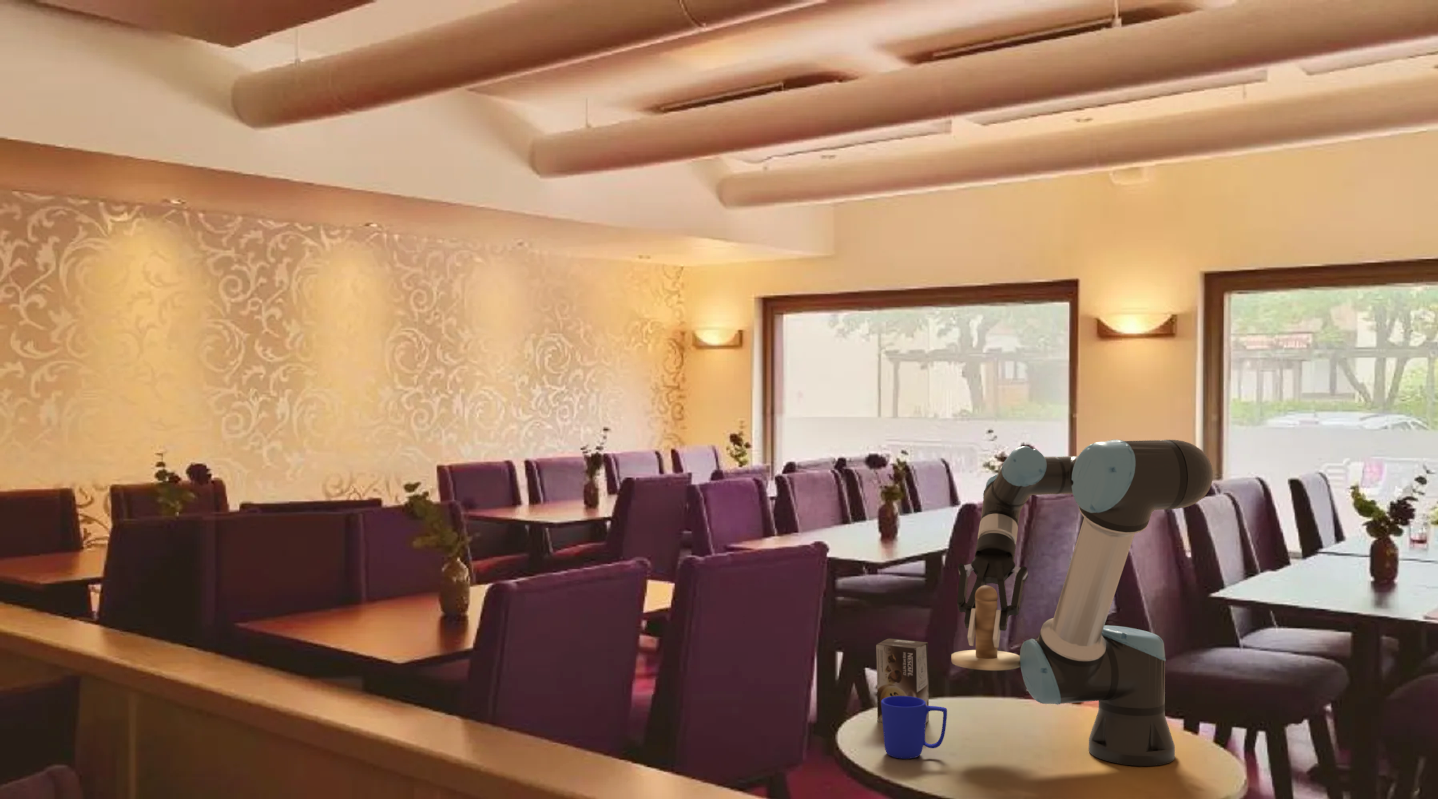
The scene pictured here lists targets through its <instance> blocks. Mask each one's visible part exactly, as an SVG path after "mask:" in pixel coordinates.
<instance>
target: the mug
mask: <svg viewBox="0 0 1438 799" xmlns="http://www.w3.org/2000/svg"><path fill="white" fill-rule="evenodd" d="M881 708H882V720H883V722H882V730H883V744H884V750H885V753H886V754H887V755H888V756H890V757H892V758H896V759H905V760H910V759H914V758H917V757H920V755H921V754H922V752H923V748H924V747H925V748H928V749H937V748H938V747H940V746H941V745H942V743H943V741H944V739H945V734H946V727H947V718H948V709H947V708H946V707H944V706H936V705H929V706H927V705H926V702H925V701H924V700H922V699H920V698H916V697H910V696H891V697H887V698H884V699H882V701H881ZM932 711H934V712H935V711H937V712H941V713H942V714H943V715H942V725H941V726H942V727H941V732H940V736H939V739H938V741H936V742H935V743H927V742H926V724H927V722H926V716H927V713H928V712H929V713H930V712H932Z"/></svg>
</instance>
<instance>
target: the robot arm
mask: <svg viewBox="0 0 1438 799" xmlns="http://www.w3.org/2000/svg"><path fill="white" fill-rule="evenodd" d="M1213 476H1214V470H1213V466H1212V463H1211V461H1210V458H1209V457H1208V455H1207V454H1206V453H1205V452H1204V451H1203V450H1202V449H1201V448H1200V447H1197V446H1196V445H1194V444H1193V443H1190V442H1187V441H1185V440H1179V439H1150V440H1148V439H1147V440H1146V439H1145V440H1123V439H1111V440H1109V439H1108V440H1106V441H1096V442H1093V443H1091V444H1089V445H1088V446H1086V447H1085V448H1084V449H1082V451H1081V452H1080V453H1079V454H1078V455H1068V456H1066V455H1065V456H1044V454H1043V453H1041V451H1039V450H1038V449H1036V448H1031V447H1030V446H1019V447H1016V448H1015V449H1013V450H1012V451H1011V452H1010V454H1009V455H1008V456H1007V458H1006V459H1005V460H1004V462H1003V464H1002V465H1001V467H1000V469H999V472H998V473H996V474H995V475H993V476H990V477H989V478H988V480H987V481H986V483H985V488H984V490H983V493H982V494H983V495H982V496H983V497H982V498H983V499H982V507H981V515H980V522H979V527H978V533H977V541H976V547H975V552H974V558H973V559H972V561H971V563H969V564H964V563H958V565H957V569H958V574H959V580H958V588H957V589H958V590H957V600H956V604H957V609H958V611H959V612H960V613H964V615H965V616H964V619H963V620H964V621H963V622H964V627H965V628H966V629H968V631H967V641H968V645H969V646H971V647H974V646H975V645H974V644H975V639H976V600H975V593H976V591H977V589H978V588H979V587H981V586H984V585H987V584H989V585H990V584H995V585H997V588H998V595H999V597H998V598H999V604H1000V609H997V610H996V618H995V625H994V633H993V643H994V647H997V649H999V647H1000V639H1001V632H1003V631H1004V632H1005V631H1007V628H1008V622H1009V617H1010V616H1018V615H1019V614H1020V606H1021V602H1022V596H1023V591H1024V584H1025V582H1026V581H1027V579H1028V578H1029V573H1028V568H1027V567H1026V566H1023V565H1022V566H1021V567H1020V566H1017V565H1016V562H1015V555H1016V548H1017V547H1016V546H1017V541H1018V540H1017V539H1018V533H1019V530H1018V529H1019V523H1020V522H1019V521H1020V517H1021V516H1020V515H1021V512H1022V509H1023V507H1024V506H1025V504H1026V503H1027V501H1028V500H1029V499H1030V498H1031V496H1039V495H1040V496H1042V495H1043V496H1046V495H1047V496H1048V495H1070V494H1071V495H1073V498H1074V501H1075V503H1076V504H1077V506H1078V510H1079V512H1080V514H1081V515H1082V517H1083V520H1082V524H1081V526H1080V531H1079V533H1078V537H1077V540H1076V544H1075V547H1074V550H1073V552H1072V557H1071V559H1070V563H1069V566H1068V570H1067V573H1066V576H1065V579H1064V582H1063V587H1062V589H1061V592H1060V596H1059V599H1058V603H1057V605H1056V610H1055V612H1054V615H1053V618H1049V619H1047V620H1046V621H1044V622H1043V624H1042V625H1041V629H1040V631H1039V635H1038V638H1035V639H1034V638H1030V639H1027V640H1024V641H1023V642H1022V644H1021V646H1020V652H1019V656H1020V666H1021V667H1020V670H1021V675H1022V679H1023V683H1024V685H1025V687H1026V689H1027V691H1028V693H1029V695H1030V696H1031V697H1032V699H1033V700H1035V702H1038V703H1040V704H1043V705H1057V706H1058V705H1062V704H1063V705H1064V704H1072V703H1073V704H1075V703H1088V702H1098V709H1097V710H1098V711H1097V713H1096V716H1095V720H1094V723H1093V726H1092V727H1091V732H1090V734H1089V737H1088V751H1089V753H1090V754H1091V755H1092V756H1093V757H1096V758H1097V759H1099V760H1103V761H1105V762H1109V763H1112V764H1118V765H1125V766H1126V765H1127V766H1135V767H1136V766H1137V767H1150V766H1151V767H1152V766H1153V767H1154V766H1162V765H1166V764H1169V763H1171V762H1173V761H1174V760H1175V759H1176V752H1175V751H1176V747H1175V742H1174V740H1173V736H1172V733H1171V731H1170V727H1169V724H1168V721H1167V718H1166V714H1165V712H1166V710H1165V706H1166V704H1165V703H1166V702H1165V697H1166V696H1165V694H1166V692H1165V691H1166V690H1165V689H1166V688H1165V687H1166V686H1165V685H1166V683H1165V682H1166V678H1165V676H1166V672H1165V671H1166V664H1165V663H1166V661H1167V659H1166V652H1165V642H1164V640H1163V639H1162V637H1160V635H1158V634H1156V633H1153V632H1151V631H1146V630H1142V629H1139V628H1138V629H1137V628H1134V627H1128V626H1120V625H1109V624H1107V625H1106V621H1107V618H1108V615H1109V612H1110V610H1111V606H1112V603H1113V601H1114V597H1115V594H1116V591H1117V589H1118V585H1119V582H1120V579H1121V576H1122V574H1123V570H1124V567H1125V565H1126V561H1127V558H1128V555H1129V552H1130V548H1131V546H1132V543H1133V539H1134V537H1135V535H1136V534H1138V533H1141V532H1143V531H1144V530H1146V529H1147V527H1148V525H1149V522H1150V519H1151V516H1152V514H1153V512H1155V511H1161V510H1164V511H1165V510H1177V509H1184V508H1187V507H1190V506H1193V505H1195V504H1196V503H1198V502H1200V501H1201V500H1202V499H1203V498H1204V497H1205V496H1207V493H1208V492H1209V491H1210V489H1211V487H1212V484H1213V480H1214V477H1213ZM972 571H973V573H974V574H975V575H976V579H975V583H973V584H974V585H973V588H972V590H971V592H970V595H969V598H968V600H967V595H968V594H967V593H968V585H969V584H968V583H969V579H968V578H969V577H970V575H971V572H972ZM1013 574H1014V577H1015V580H1014V585H1013V590H1012V597H1011V603H1010V605H1008V598H1007V597H1008V596H1007V590H1006V581H1007V579H1009V578H1010V576H1012V575H1013Z"/></svg>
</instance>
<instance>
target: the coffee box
mask: <svg viewBox="0 0 1438 799" xmlns="http://www.w3.org/2000/svg"><path fill="white" fill-rule="evenodd" d="M875 648H876V649H875V651H876V694H877V695H876V696H877V697H876V700H877V702H876V703H877V704H876V706H877V713H876V714H877V718H876V721H877V722H878V723H883V720H882V708H881V701H882V699H884V698H887V697H891V696H910V697H916V698H920V699H922V700H924V701H925V702H926V705H927V706H930V705H929V703H930V701H929V700H930V699H929V694H930V693H929V642H927V641H917V640H907V639H897V638H887V639H885V640H882V641H881V642H878V643H876V645H875ZM929 713H930V711H929V712H928V713H927V716H926V723H928V722H929V721H930V714H929Z"/></svg>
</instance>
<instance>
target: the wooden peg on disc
mask: <svg viewBox="0 0 1438 799" xmlns="http://www.w3.org/2000/svg"><path fill="white" fill-rule="evenodd" d="M998 595H999V594H998V592H997V590H996V588H994V587H993V586H991V585H987V584H986V585H984V586H981V587H979V588H978V589H977V591H976V593H975V600H976V631H975V649H969V650H968V649H967V650H960V651H955V652H953V653H951V654H950V655H951V658H950V659H951V663H952V665H955V667H958V668H959V667H961V668H965V669H968V670H969V669H971V670H976V671H977V670H978V671H1009V670H1010V671H1011V670H1015V669H1018V668H1021V666H1020V654H1017V653H1013V652H1009V651H1003V650H998V648H997V647H994V643H993V633H994V625H995V618H996V610H998V599H999V597H998Z"/></svg>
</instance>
